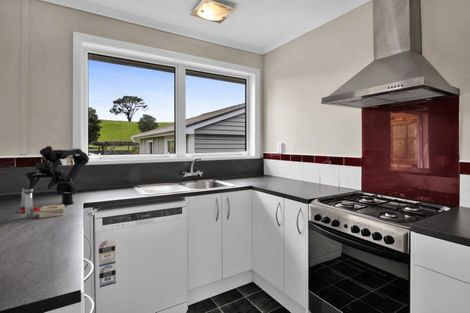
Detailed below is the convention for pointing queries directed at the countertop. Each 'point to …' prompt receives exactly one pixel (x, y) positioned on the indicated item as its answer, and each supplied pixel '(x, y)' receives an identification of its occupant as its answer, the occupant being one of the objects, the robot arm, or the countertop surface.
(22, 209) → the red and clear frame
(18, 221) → the countertop surface
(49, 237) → the countertop surface
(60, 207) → the socket block
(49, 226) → the countertop surface
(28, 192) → the steel pin
